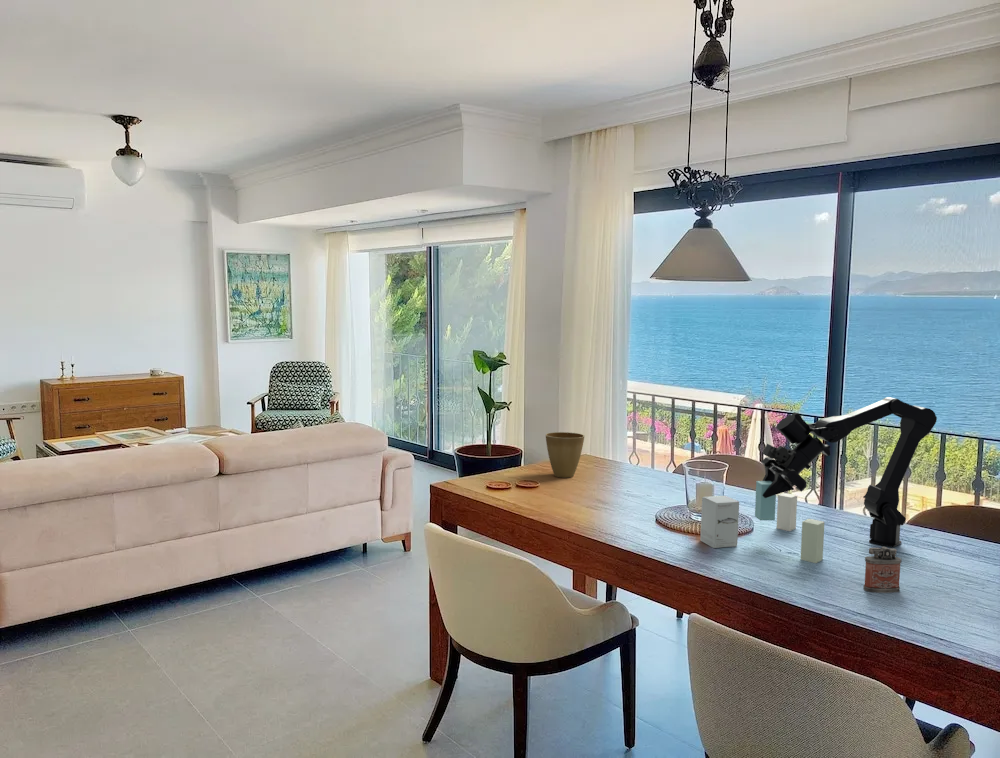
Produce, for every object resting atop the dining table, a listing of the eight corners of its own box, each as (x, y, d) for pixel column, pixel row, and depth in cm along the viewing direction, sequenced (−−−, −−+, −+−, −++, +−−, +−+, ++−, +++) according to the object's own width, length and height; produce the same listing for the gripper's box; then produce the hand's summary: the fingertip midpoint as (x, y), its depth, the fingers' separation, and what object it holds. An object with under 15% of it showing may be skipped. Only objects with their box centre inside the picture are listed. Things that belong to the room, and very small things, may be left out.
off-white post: (795, 528, 218) (797, 495, 217) (789, 531, 215) (791, 497, 214) (782, 525, 220) (784, 492, 220) (776, 528, 218) (777, 495, 217)
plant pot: (586, 480, 278) (586, 438, 276) (546, 479, 277) (547, 437, 276) (581, 471, 292) (581, 431, 291) (543, 471, 292) (544, 431, 291)
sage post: (822, 559, 190) (824, 521, 189) (816, 563, 187) (817, 524, 186) (807, 556, 193) (809, 518, 192) (800, 559, 190) (802, 521, 189)
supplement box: (714, 549, 198) (715, 502, 197) (699, 540, 205) (701, 496, 204) (738, 547, 200) (740, 501, 199) (723, 538, 207) (724, 494, 206)
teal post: (769, 516, 205) (770, 480, 204) (774, 520, 201) (776, 484, 200) (754, 516, 205) (756, 480, 204) (760, 520, 201) (761, 484, 200)
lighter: (894, 587, 171) (897, 545, 171) (902, 592, 168) (905, 549, 167) (860, 587, 171) (862, 545, 170) (868, 592, 168) (870, 550, 167)
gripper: (769, 429, 210) (729, 467, 211) (796, 440, 192) (752, 482, 193) (795, 456, 211) (756, 494, 212) (825, 470, 193) (781, 511, 193)
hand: (760, 494), depth 202 cm, fingers closed on teal post, 4 cm apart
